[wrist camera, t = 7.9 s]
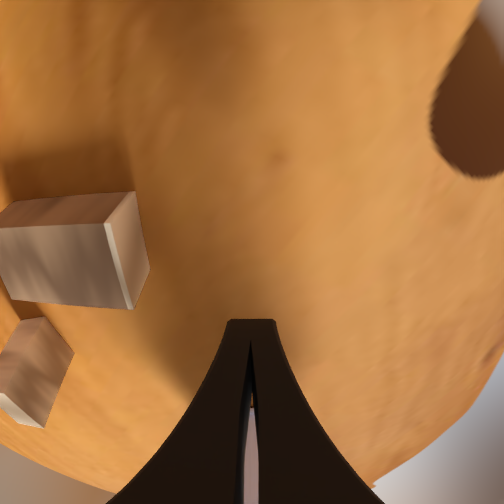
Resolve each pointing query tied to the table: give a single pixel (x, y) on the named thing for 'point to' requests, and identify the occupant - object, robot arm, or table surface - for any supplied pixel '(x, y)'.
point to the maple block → (32, 371)
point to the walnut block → (74, 250)
